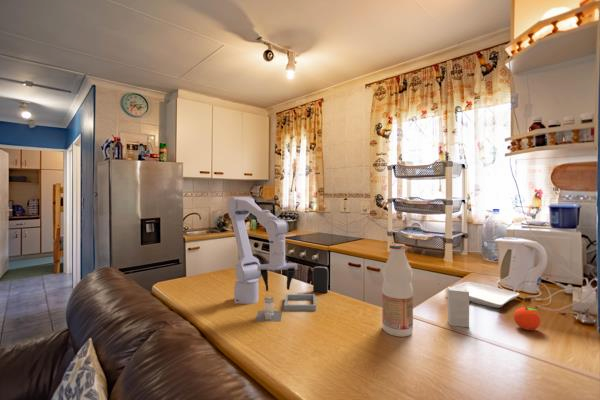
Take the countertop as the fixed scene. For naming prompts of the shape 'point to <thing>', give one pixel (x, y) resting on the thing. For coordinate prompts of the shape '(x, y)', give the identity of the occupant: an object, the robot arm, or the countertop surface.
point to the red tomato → (527, 318)
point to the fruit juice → (397, 293)
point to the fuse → (269, 305)
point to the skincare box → (458, 306)
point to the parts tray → (300, 307)
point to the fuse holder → (268, 316)
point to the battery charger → (320, 279)
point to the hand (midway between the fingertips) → (277, 289)
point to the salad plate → (487, 294)
